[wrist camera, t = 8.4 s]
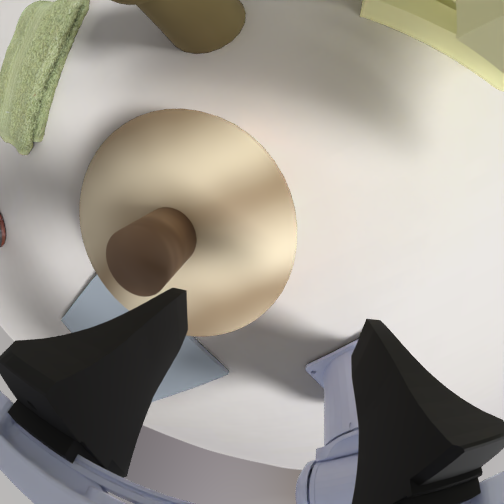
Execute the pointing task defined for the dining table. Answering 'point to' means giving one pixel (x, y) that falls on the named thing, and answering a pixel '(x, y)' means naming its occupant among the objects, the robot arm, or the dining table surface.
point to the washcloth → (36, 68)
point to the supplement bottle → (2, 231)
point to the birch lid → (189, 218)
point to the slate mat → (183, 367)
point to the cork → (195, 21)
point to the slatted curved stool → (450, 30)
